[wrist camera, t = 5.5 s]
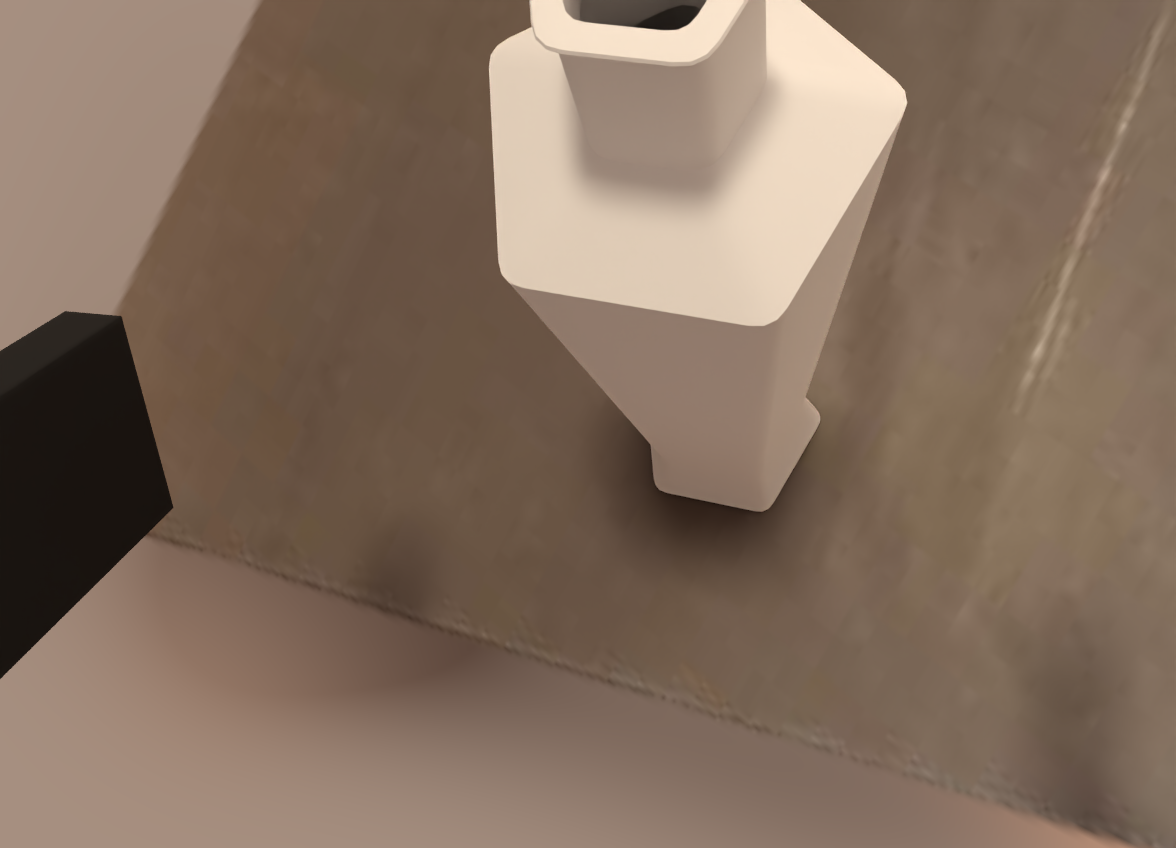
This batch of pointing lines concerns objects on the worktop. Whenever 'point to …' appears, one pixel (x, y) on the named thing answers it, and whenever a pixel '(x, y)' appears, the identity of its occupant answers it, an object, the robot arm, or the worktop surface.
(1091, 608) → the worktop surface
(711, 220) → the perfume bottle
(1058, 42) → the worktop surface
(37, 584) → the robot arm
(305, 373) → the worktop surface
